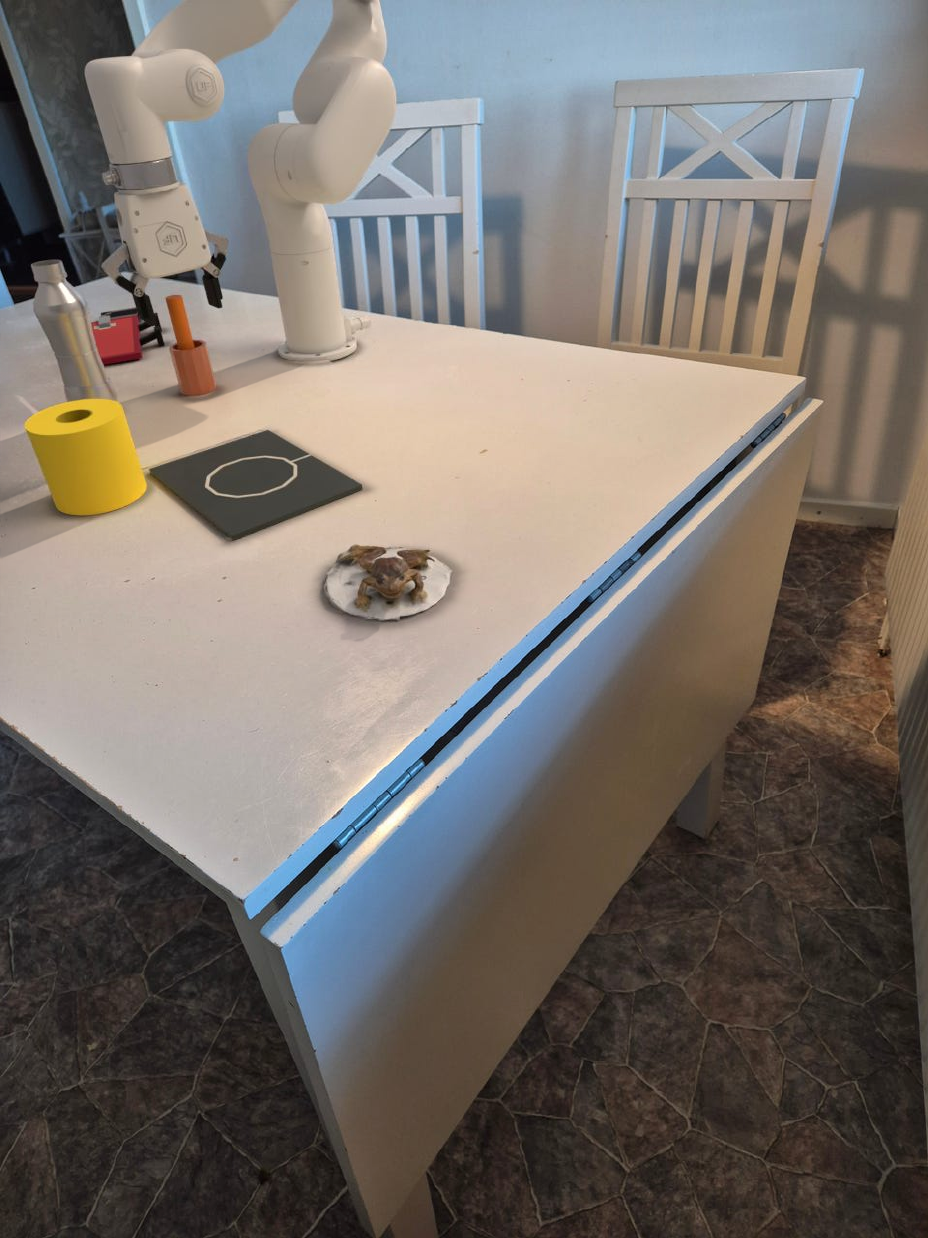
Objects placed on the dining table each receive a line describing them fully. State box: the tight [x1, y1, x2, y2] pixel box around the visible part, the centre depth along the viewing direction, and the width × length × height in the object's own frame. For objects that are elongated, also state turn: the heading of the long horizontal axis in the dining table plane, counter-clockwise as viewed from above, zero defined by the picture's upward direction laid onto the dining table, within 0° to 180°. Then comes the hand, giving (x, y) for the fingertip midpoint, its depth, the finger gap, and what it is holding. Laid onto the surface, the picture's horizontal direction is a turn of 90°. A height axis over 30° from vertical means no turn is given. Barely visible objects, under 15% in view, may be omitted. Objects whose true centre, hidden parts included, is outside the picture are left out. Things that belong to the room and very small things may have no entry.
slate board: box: [148, 429, 364, 541], centre depth 94 cm, size 16×22×1 cm
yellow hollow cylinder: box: [24, 399, 148, 516], centre depth 90 cm, size 10×10×9 cm
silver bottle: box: [30, 259, 119, 403], centre depth 107 cm, size 6×7×20 cm
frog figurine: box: [323, 543, 453, 622], centre depth 74 cm, size 12×12×4 cm
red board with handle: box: [91, 306, 166, 366], centre depth 142 cm, size 30×3×15 cm
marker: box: [164, 294, 195, 350], centre depth 114 cm, size 2×2×13 cm
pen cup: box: [168, 339, 217, 397], centre depth 116 cm, size 5×5×7 cm
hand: (183, 314), depth 112 cm, fingers open, 9 cm apart
